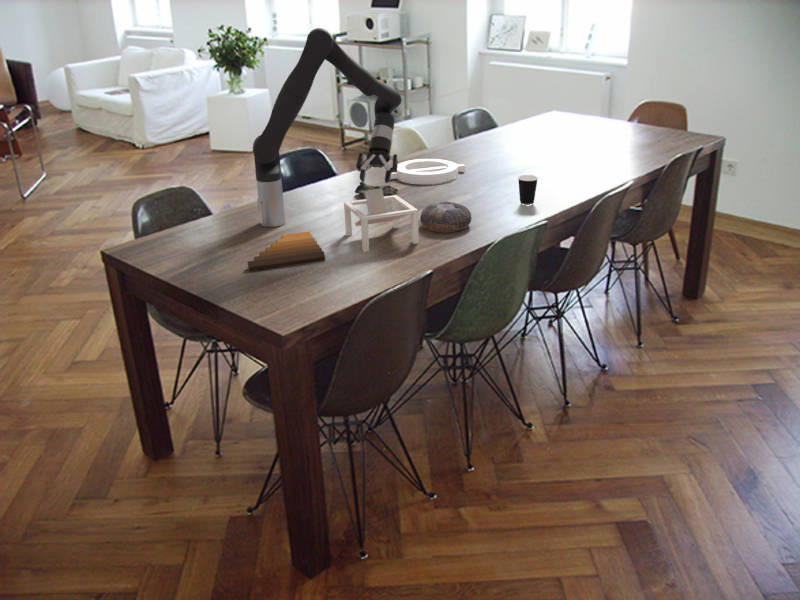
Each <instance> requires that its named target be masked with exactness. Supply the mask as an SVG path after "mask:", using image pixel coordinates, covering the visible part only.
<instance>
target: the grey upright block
mask: <svg viewBox="0 0 800 600" xmlns="http://www.w3.org/2000/svg"><path fill="white" fill-rule="evenodd" d="M365 197H366V207H367V213H368V214H367V215H370V214H377V213H384V212H387V208H386V204H385V202H386V201H384V197H385V196H383V190H382V188H380V189H372V190H368V191H366V192H365Z"/></svg>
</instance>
